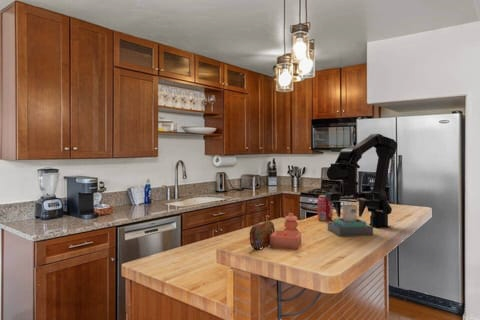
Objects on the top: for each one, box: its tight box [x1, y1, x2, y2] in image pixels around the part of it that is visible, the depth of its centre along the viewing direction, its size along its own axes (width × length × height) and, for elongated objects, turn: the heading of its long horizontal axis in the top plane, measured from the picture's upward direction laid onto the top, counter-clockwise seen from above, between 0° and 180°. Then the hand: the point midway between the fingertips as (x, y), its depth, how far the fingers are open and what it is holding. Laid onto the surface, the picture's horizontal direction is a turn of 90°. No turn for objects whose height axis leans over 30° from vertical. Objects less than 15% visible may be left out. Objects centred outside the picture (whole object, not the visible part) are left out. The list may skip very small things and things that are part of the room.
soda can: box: [317, 194, 334, 222], centre depth 164 cm, size 7×7×12 cm
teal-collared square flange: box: [327, 217, 374, 237], centre depth 138 cm, size 14×12×5 cm
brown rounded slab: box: [249, 220, 276, 250], centre depth 119 cm, size 15×3×8 cm, turn 148°
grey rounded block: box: [342, 204, 358, 222], centre depth 137 cm, size 6×7×8 cm
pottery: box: [269, 212, 302, 251], centre depth 124 cm, size 18×10×10 cm, turn 161°
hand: (349, 217), depth 138 cm, fingers open, 9 cm apart
